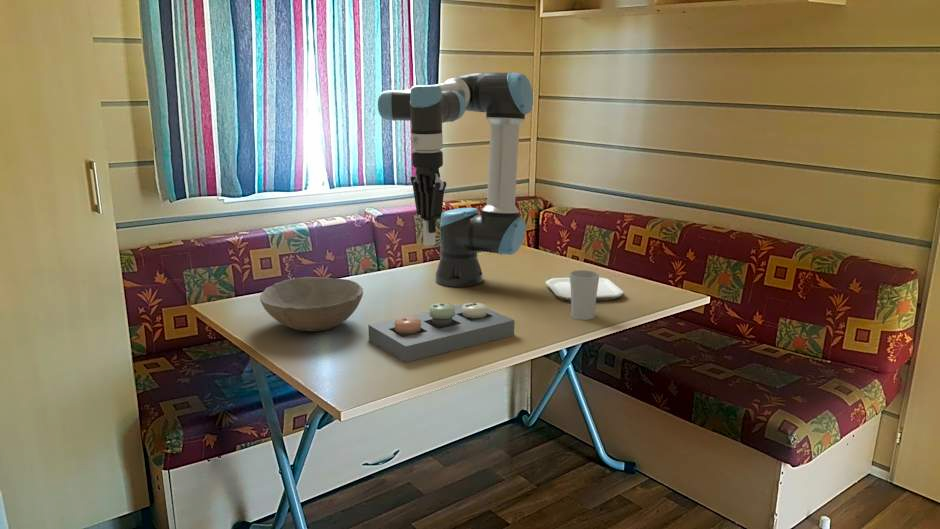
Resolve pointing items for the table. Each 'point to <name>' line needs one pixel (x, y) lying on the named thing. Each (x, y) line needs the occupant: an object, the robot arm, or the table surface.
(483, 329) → the console
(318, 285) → the bowl
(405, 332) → the button one
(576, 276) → the cup
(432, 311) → the button two
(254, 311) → the table surface
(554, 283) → the plate
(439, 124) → the robot arm
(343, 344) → the table surface
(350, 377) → the table surface
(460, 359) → the table surface
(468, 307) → the button three
